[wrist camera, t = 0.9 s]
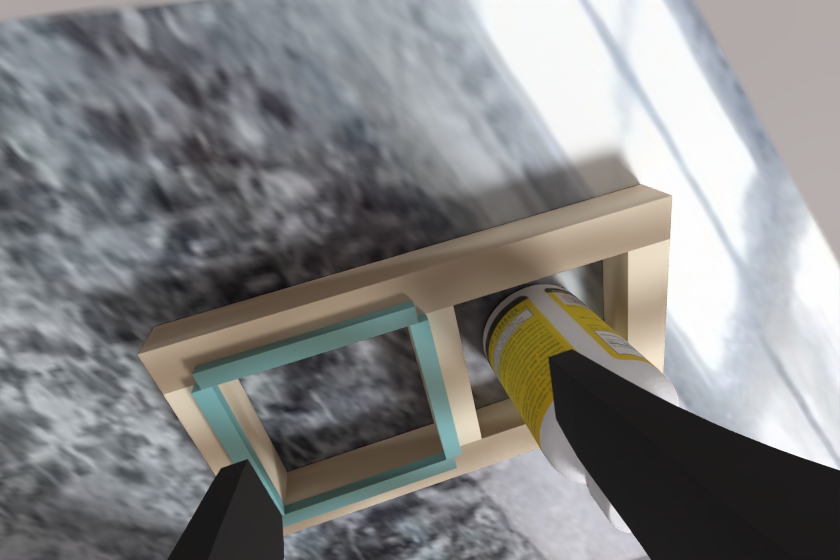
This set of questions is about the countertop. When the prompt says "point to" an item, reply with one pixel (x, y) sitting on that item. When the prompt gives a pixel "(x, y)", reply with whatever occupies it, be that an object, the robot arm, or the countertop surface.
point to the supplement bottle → (530, 373)
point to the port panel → (431, 339)
